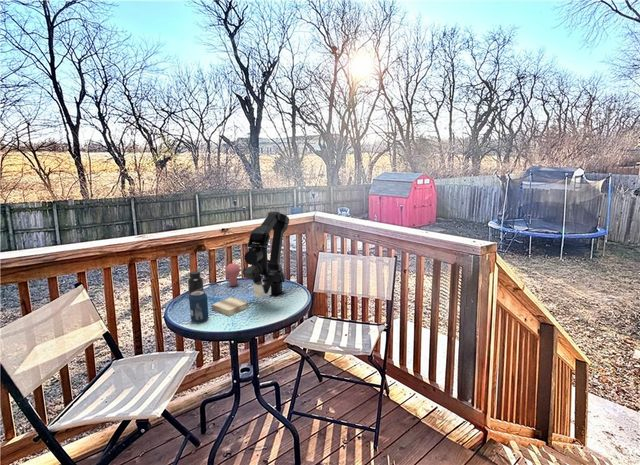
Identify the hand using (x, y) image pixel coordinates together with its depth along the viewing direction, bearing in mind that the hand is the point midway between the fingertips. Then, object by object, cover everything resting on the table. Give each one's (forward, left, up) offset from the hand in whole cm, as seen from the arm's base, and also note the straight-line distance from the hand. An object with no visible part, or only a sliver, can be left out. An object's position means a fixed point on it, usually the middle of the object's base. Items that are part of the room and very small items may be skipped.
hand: (262, 292), depth 167 cm
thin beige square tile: (+11, -9, -6) cm, 15 cm away
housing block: (0, 0, -2) cm, 2 cm away
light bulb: (-9, -31, -6) cm, 33 cm away
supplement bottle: (+11, -34, -6) cm, 36 cm away
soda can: (+26, -10, -6) cm, 29 cm away
